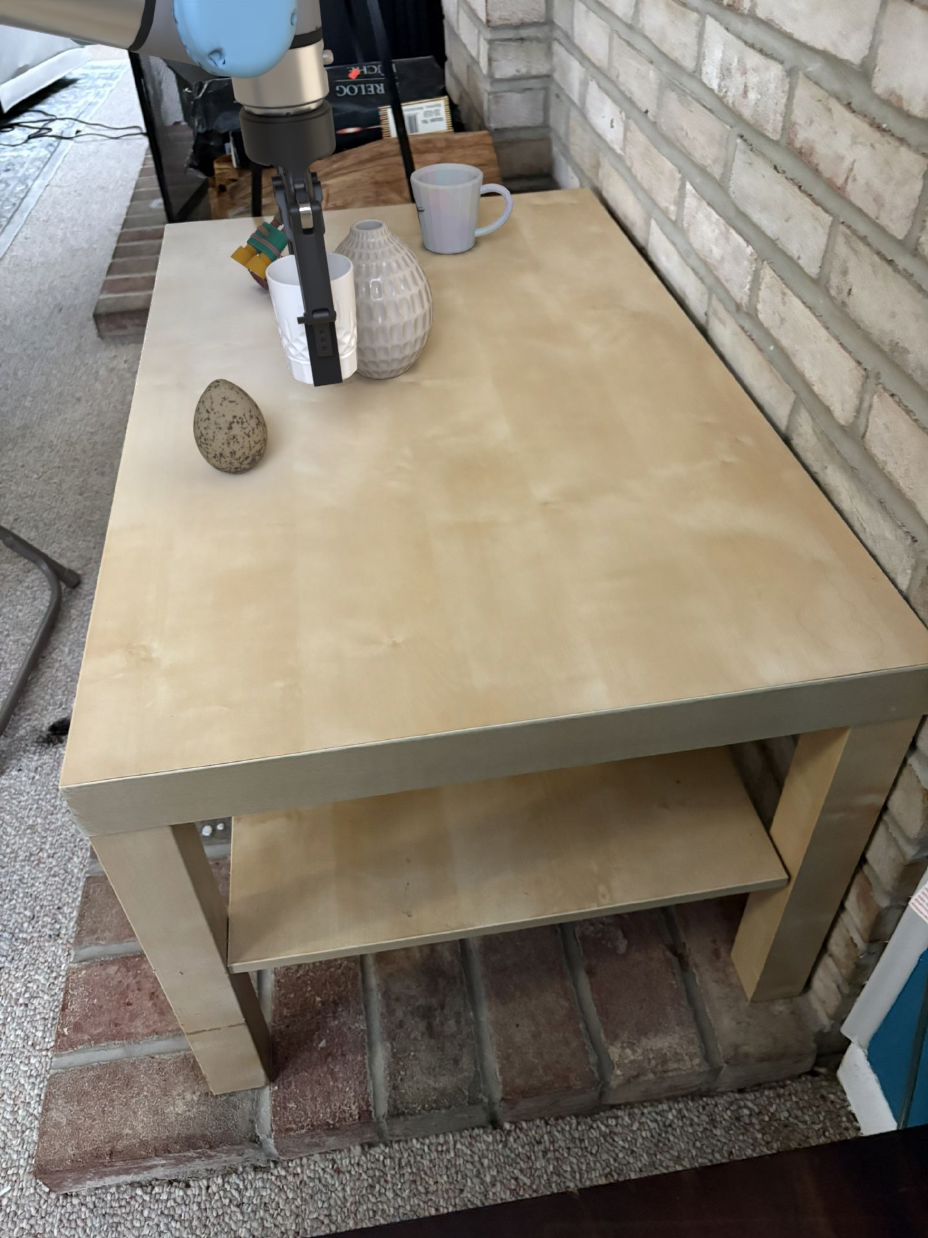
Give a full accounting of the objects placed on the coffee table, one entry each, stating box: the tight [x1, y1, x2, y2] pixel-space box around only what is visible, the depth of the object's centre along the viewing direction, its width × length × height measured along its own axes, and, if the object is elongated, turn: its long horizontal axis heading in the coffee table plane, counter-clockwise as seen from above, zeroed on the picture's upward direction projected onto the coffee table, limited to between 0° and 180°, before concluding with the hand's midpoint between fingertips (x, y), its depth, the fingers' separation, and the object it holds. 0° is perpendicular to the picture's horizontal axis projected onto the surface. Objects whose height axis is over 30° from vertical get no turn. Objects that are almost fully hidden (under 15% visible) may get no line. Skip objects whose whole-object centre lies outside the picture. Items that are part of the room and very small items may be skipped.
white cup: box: [266, 251, 358, 385], centre depth 87 cm, size 8×8×10 cm
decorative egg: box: [192, 378, 268, 475], centre depth 92 cm, size 7×7×10 cm
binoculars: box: [229, 210, 288, 291], centre depth 124 cm, size 9×9×10 cm
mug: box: [409, 162, 515, 255], centre depth 134 cm, size 10×15×10 cm
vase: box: [332, 218, 434, 380], centre depth 105 cm, size 13×13×17 cm
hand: (322, 362), depth 90 cm, fingers closed on white cup, 8 cm apart
